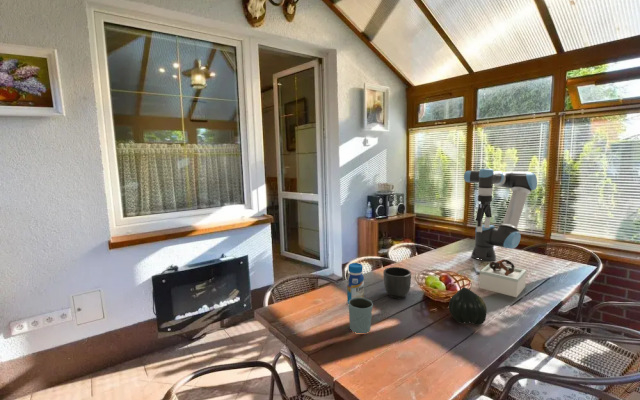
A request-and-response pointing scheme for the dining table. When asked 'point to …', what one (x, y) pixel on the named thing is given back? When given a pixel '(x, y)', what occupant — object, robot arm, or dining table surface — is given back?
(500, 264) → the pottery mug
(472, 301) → the squash
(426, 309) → the dining table surface
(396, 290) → the planter
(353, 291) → the beverage bottle
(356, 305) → the green tumbler cup
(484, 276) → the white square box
